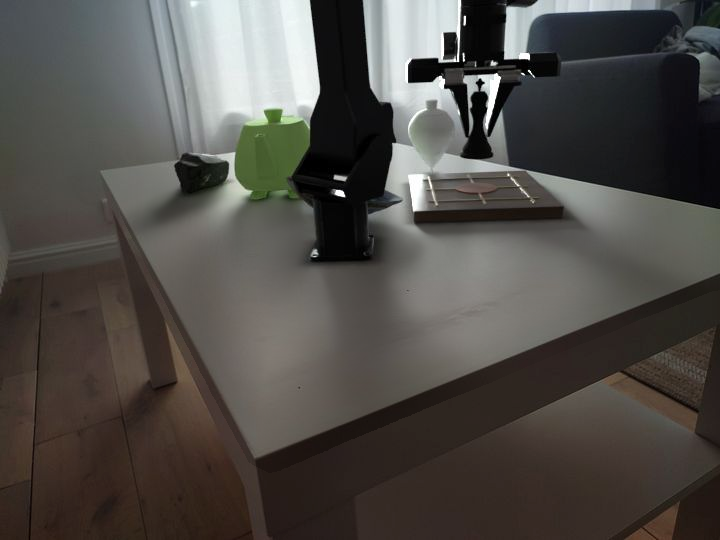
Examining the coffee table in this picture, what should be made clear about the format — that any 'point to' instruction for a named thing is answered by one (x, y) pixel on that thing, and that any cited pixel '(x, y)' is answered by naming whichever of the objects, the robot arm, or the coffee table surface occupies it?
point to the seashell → (373, 204)
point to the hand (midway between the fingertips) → (477, 137)
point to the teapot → (270, 152)
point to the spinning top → (431, 133)
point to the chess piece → (477, 127)
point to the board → (480, 197)
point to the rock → (200, 171)
